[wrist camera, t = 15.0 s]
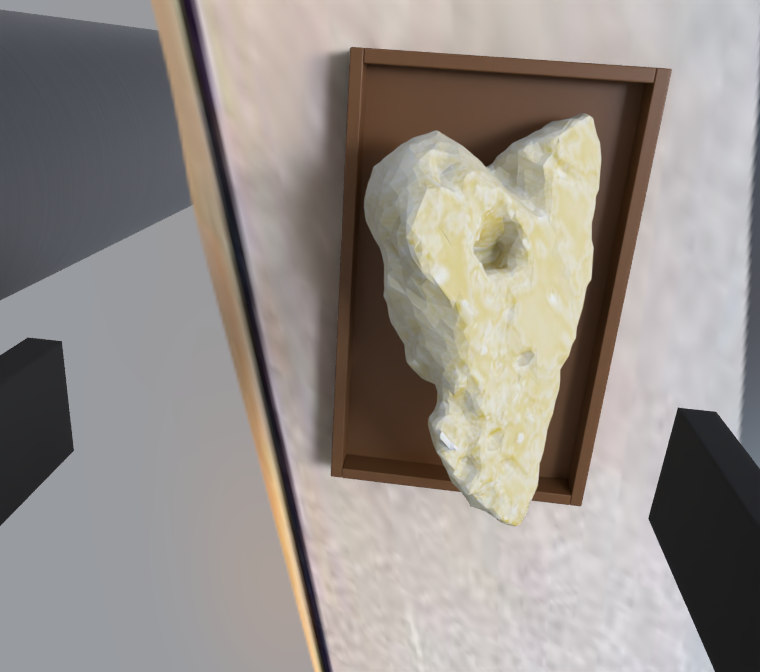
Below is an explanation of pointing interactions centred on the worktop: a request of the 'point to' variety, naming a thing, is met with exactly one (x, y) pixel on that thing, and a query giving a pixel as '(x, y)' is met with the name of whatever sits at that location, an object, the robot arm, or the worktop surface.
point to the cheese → (489, 292)
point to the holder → (485, 141)
